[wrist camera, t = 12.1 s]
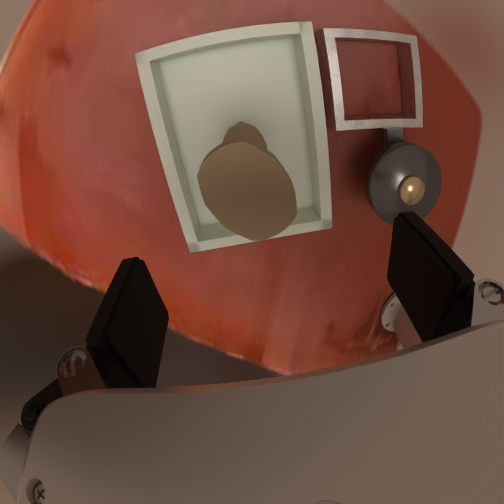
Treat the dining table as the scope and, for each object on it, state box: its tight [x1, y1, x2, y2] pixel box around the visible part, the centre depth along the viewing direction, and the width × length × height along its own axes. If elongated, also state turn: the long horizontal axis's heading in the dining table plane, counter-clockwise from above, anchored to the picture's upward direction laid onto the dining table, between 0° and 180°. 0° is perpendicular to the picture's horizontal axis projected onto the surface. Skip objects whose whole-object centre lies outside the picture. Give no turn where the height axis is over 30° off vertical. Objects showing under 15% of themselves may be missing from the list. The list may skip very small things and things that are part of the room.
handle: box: [197, 122, 297, 241], centre depth 22 cm, size 5×6×15 cm
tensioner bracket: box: [315, 28, 442, 225], centre depth 25 cm, size 21×11×8 cm, turn 10°
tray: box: [135, 22, 332, 253], centre depth 27 cm, size 22×16×4 cm
